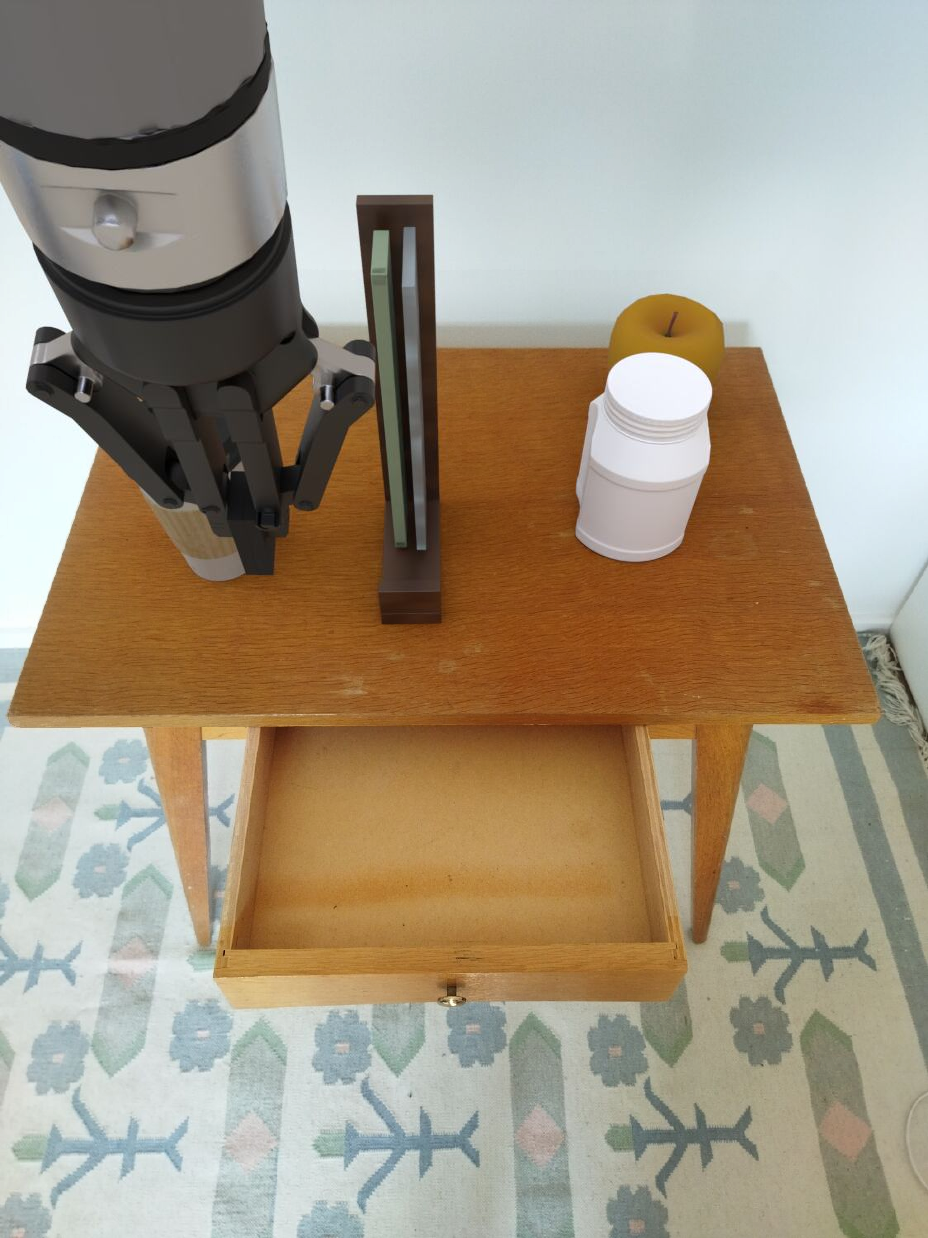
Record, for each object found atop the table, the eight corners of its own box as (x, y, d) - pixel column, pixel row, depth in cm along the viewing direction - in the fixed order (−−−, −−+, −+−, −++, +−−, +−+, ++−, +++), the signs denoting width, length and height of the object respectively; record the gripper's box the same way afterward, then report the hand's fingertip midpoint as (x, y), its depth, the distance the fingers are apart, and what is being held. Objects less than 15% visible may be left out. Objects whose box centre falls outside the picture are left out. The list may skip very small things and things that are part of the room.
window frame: (382, 624, 69) (344, 324, 45) (386, 502, 77) (356, 194, 54) (441, 623, 69) (434, 324, 46) (439, 501, 77) (433, 193, 54)
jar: (682, 566, 73) (728, 439, 61) (575, 558, 73) (599, 430, 61) (674, 474, 80) (714, 342, 67) (575, 468, 80) (597, 335, 68)
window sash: (395, 547, 71) (370, 274, 50) (396, 505, 74) (373, 229, 53) (406, 547, 71) (386, 273, 50) (407, 505, 74) (389, 229, 53)
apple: (578, 398, 86) (595, 286, 76) (669, 376, 88) (699, 265, 78) (624, 468, 80) (649, 358, 70) (721, 443, 82) (760, 333, 72)
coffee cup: (301, 541, 74) (271, 411, 62) (228, 615, 70) (179, 491, 57) (220, 498, 77) (175, 366, 65) (144, 566, 72) (80, 438, 60)
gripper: (-108, 295, 22) (132, 614, 44) (382, 318, 23) (377, 616, 45) (-53, 96, 25) (147, 491, 47) (383, 128, 26) (378, 496, 48)
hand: (261, 552), depth 46 cm, fingers closed
